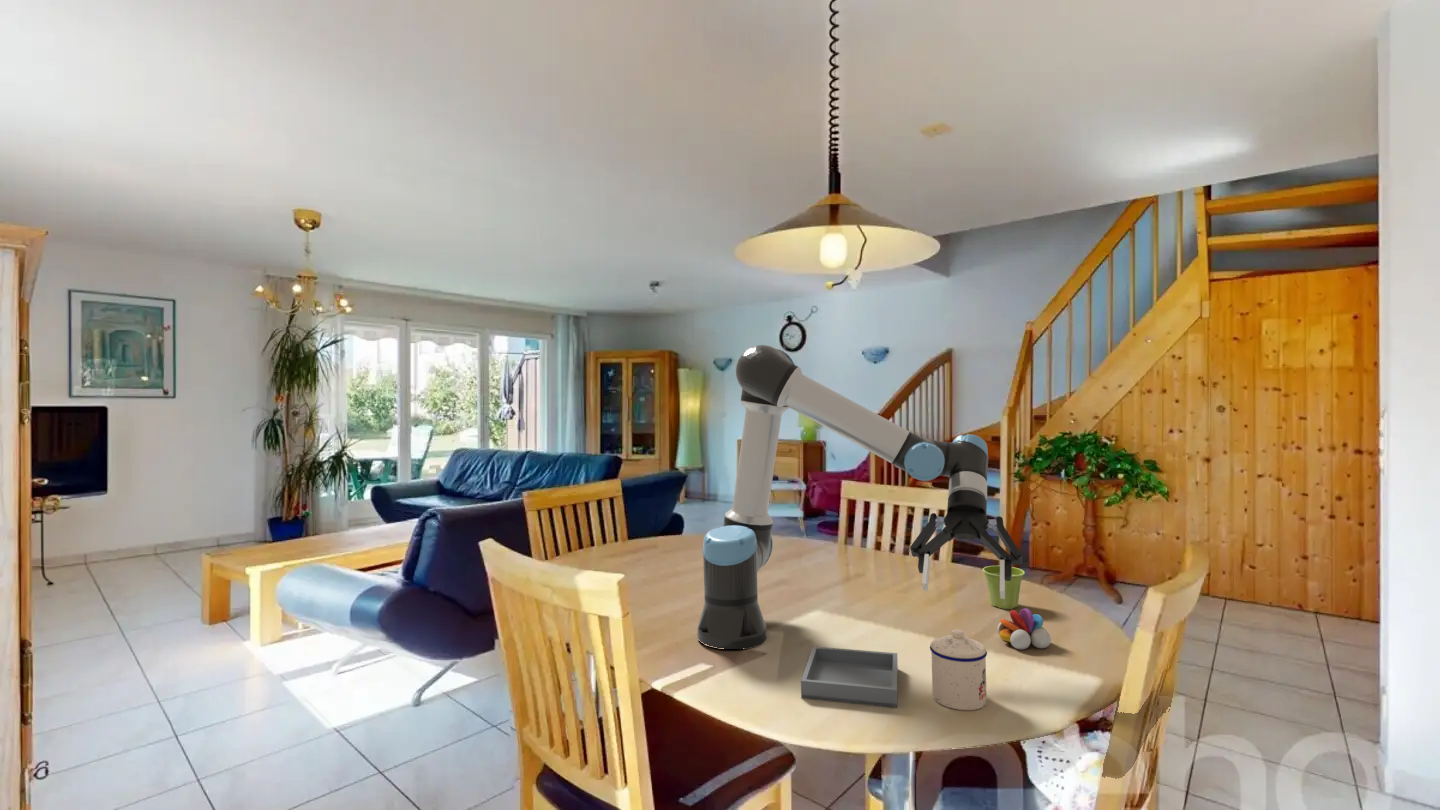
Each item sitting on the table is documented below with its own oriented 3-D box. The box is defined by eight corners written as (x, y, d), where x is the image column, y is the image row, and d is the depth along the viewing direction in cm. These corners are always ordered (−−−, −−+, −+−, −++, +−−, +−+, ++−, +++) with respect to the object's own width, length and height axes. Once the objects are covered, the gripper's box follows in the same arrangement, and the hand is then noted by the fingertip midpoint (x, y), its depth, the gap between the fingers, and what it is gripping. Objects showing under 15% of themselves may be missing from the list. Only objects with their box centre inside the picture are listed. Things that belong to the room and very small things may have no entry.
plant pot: (1030, 612, 152) (1029, 575, 151) (988, 611, 153) (988, 575, 153) (1018, 600, 161) (1017, 565, 161) (979, 599, 162) (978, 565, 162)
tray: (801, 698, 110) (800, 680, 110) (813, 661, 126) (813, 646, 126) (897, 708, 106) (896, 689, 106) (897, 668, 121) (897, 653, 121)
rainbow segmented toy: (990, 637, 136) (990, 603, 136) (1034, 635, 137) (1033, 601, 137) (1011, 652, 128) (1010, 616, 128) (1058, 650, 129) (1057, 614, 129)
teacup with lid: (994, 713, 103) (992, 642, 103) (935, 710, 105) (933, 639, 105) (977, 681, 115) (976, 617, 115) (925, 679, 117) (923, 615, 117)
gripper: (1034, 512, 130) (1037, 608, 116) (908, 506, 141) (897, 594, 127) (1033, 490, 125) (1036, 587, 111) (903, 485, 136) (891, 574, 122)
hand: (962, 591), depth 119 cm, fingers open, 13 cm apart
